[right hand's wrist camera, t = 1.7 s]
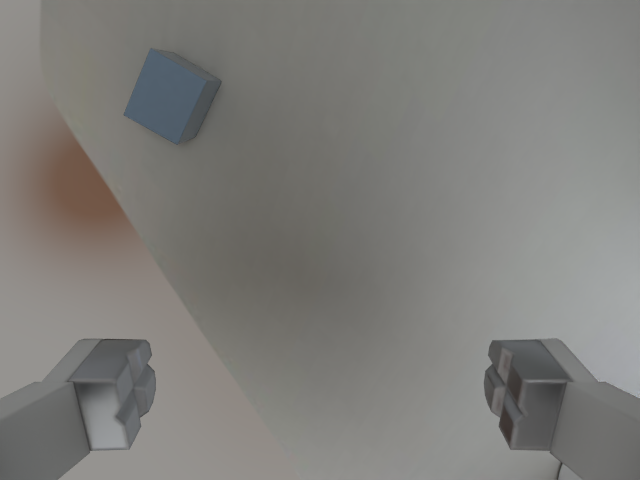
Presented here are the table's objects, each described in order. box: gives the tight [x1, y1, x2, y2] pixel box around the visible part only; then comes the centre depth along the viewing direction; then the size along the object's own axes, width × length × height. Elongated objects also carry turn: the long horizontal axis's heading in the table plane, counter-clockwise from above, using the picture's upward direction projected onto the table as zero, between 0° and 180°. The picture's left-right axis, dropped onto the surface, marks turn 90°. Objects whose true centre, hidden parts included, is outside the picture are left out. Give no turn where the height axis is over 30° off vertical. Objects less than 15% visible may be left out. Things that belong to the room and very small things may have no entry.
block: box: [124, 48, 221, 145], centre depth 32 cm, size 5×4×4 cm
